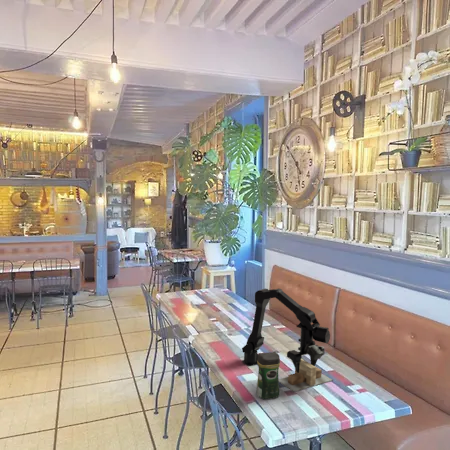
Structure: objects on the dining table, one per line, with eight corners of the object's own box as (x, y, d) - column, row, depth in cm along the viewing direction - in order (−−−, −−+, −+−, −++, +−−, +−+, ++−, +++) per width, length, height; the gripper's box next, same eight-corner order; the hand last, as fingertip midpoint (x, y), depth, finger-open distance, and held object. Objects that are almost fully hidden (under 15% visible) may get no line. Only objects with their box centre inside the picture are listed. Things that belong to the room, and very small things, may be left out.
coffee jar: (273, 389, 165) (275, 348, 164) (281, 398, 158) (283, 355, 157) (253, 392, 163) (255, 350, 162) (260, 401, 155) (262, 357, 154)
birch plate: (310, 385, 169) (311, 368, 169) (294, 375, 179) (295, 359, 178) (315, 384, 171) (316, 367, 170) (299, 374, 180) (300, 358, 180)
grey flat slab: (293, 392, 164) (293, 383, 163) (276, 380, 174) (277, 372, 174) (332, 380, 176) (333, 372, 175) (314, 370, 186) (315, 362, 186)
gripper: (303, 347, 162) (301, 382, 163) (333, 340, 171) (332, 373, 172) (286, 338, 172) (285, 371, 173) (316, 333, 181) (315, 364, 182)
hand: (305, 370), depth 175 cm, fingers open, 9 cm apart
